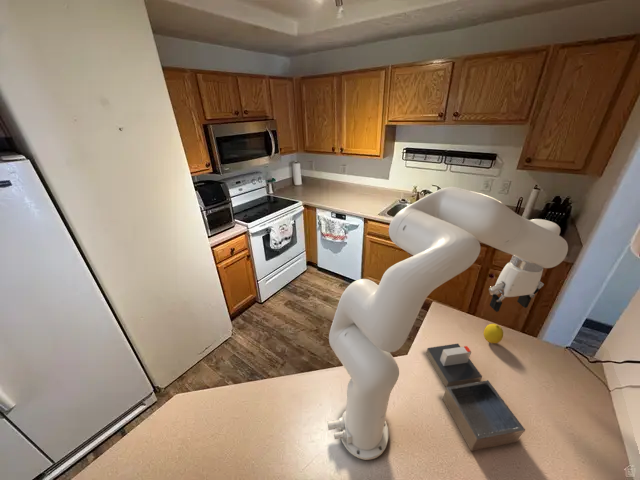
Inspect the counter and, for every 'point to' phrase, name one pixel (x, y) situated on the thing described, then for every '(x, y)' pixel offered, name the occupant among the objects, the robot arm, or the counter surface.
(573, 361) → the counter surface
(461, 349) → the white block red stripe
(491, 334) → the lemon
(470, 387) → the basin
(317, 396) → the counter surface
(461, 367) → the sink deck
